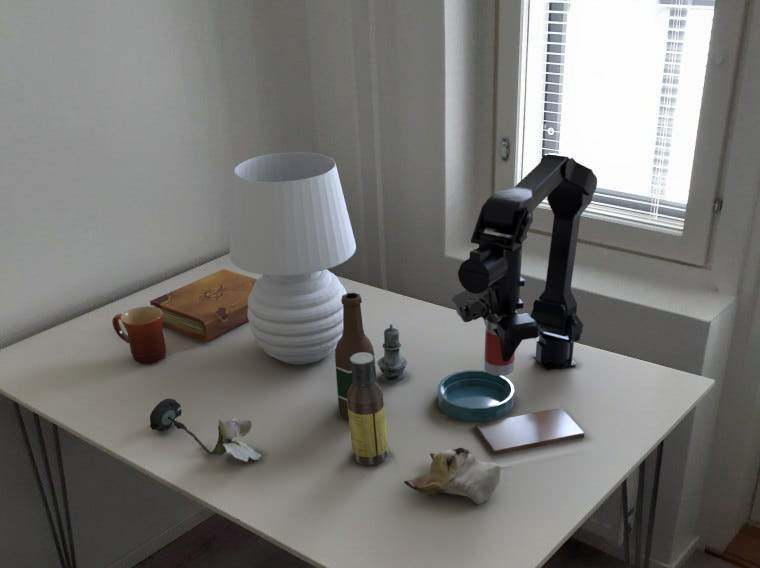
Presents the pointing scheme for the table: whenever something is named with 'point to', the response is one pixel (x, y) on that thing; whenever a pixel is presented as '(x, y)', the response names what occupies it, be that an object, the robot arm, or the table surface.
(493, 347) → the can
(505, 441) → the board
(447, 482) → the ceramic sculpture
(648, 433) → the table surface
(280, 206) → the table lamp
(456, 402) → the dish
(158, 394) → the table surface
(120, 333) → the mug
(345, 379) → the beer bottle
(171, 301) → the diary
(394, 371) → the grey tall rounded piece
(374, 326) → the table surface
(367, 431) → the sauce bottle
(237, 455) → the artificial flower
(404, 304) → the table surface
